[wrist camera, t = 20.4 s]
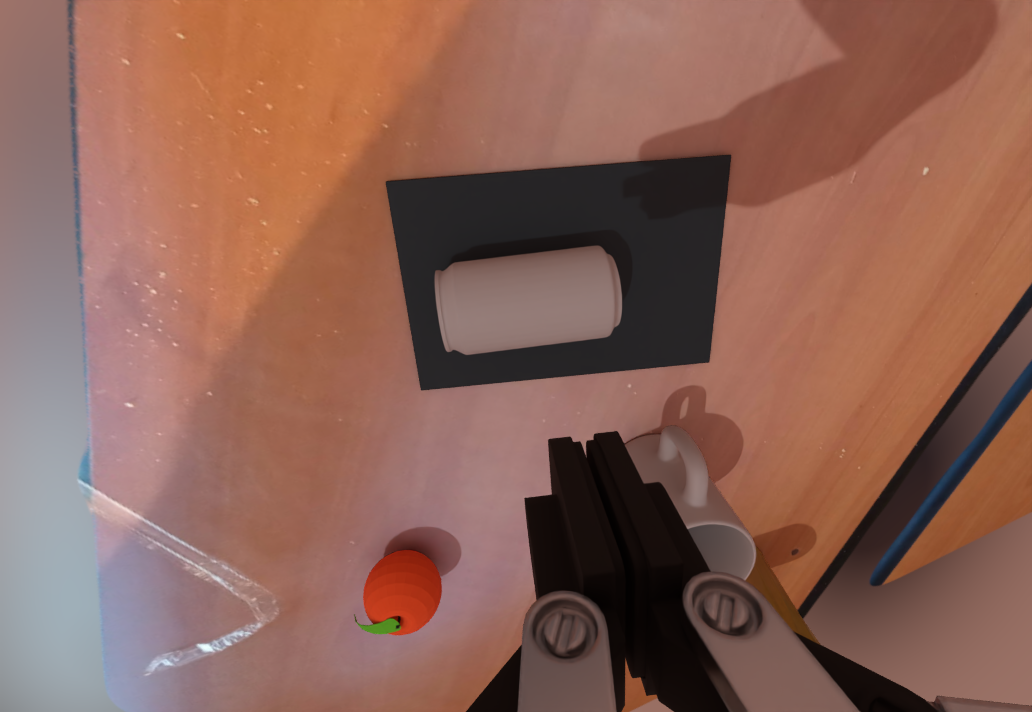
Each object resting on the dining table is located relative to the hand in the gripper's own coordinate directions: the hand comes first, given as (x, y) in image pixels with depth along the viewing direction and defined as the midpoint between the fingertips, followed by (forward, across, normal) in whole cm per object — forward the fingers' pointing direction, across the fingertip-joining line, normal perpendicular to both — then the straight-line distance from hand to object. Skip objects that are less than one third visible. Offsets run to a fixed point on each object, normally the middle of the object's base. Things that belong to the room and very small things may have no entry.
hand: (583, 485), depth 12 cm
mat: (+26, -4, +2) cm, 26 cm away
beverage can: (+22, -7, +2) cm, 23 cm away
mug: (+26, -11, +19) cm, 34 cm away
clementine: (+26, +13, +28) cm, 41 cm away
